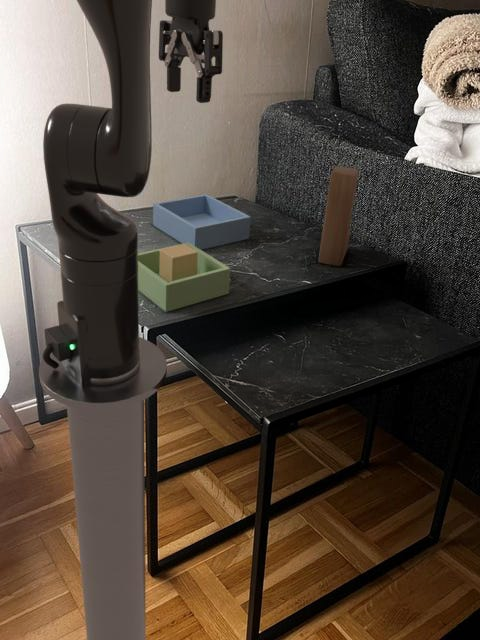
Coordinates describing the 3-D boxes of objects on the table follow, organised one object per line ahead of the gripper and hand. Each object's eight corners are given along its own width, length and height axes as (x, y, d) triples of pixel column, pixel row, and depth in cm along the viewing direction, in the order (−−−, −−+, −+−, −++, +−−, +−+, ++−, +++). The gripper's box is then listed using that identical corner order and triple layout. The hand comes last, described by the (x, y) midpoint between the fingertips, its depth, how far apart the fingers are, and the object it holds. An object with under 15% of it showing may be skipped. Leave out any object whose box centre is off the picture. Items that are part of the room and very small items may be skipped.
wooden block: (325, 246, 126) (338, 159, 117) (347, 250, 125) (362, 162, 116) (317, 263, 118) (331, 171, 109) (340, 267, 117) (356, 175, 108)
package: (171, 291, 102) (172, 258, 99) (159, 281, 105) (159, 249, 102) (196, 284, 105) (197, 252, 102) (183, 275, 107) (184, 243, 104)
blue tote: (194, 251, 119) (195, 228, 116) (152, 225, 129) (152, 203, 127) (249, 238, 126) (250, 216, 124) (205, 214, 137) (206, 194, 134)
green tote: (165, 312, 97) (166, 285, 95) (126, 281, 106) (126, 255, 103) (228, 293, 104) (230, 268, 102) (187, 266, 113) (188, 242, 110)
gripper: (144, -23, 93) (145, 89, 101) (197, -16, 83) (193, 107, 91) (185, -21, 97) (183, 87, 105) (240, -14, 87) (233, 104, 96)
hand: (188, 96), depth 98 cm, fingers open, 8 cm apart
